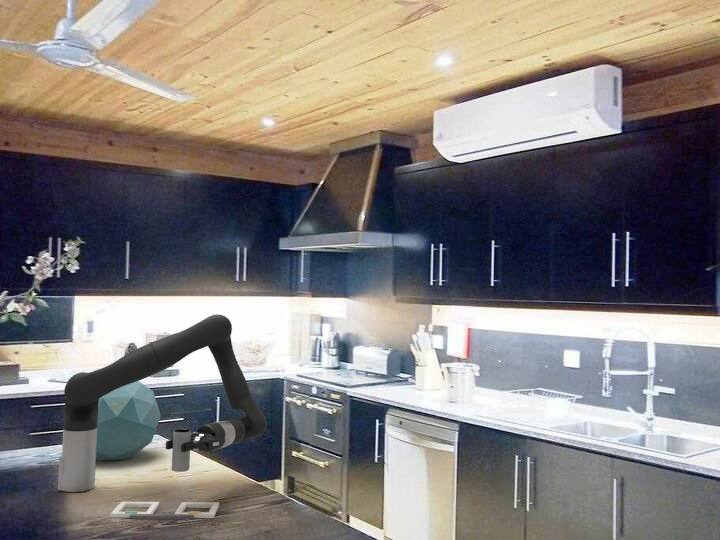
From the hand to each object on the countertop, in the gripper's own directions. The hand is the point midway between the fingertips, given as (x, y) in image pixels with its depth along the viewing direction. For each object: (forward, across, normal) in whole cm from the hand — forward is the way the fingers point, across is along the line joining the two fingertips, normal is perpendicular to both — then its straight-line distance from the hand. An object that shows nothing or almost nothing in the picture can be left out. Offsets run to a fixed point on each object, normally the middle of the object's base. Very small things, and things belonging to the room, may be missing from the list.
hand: (174, 446), depth 176 cm
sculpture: (-35, -57, +18) cm, 70 cm away
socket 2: (-5, +4, +17) cm, 19 cm away
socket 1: (+3, -10, +18) cm, 20 cm away
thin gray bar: (+4, 0, +18) cm, 18 cm away
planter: (-3, 0, +7) cm, 7 cm away
